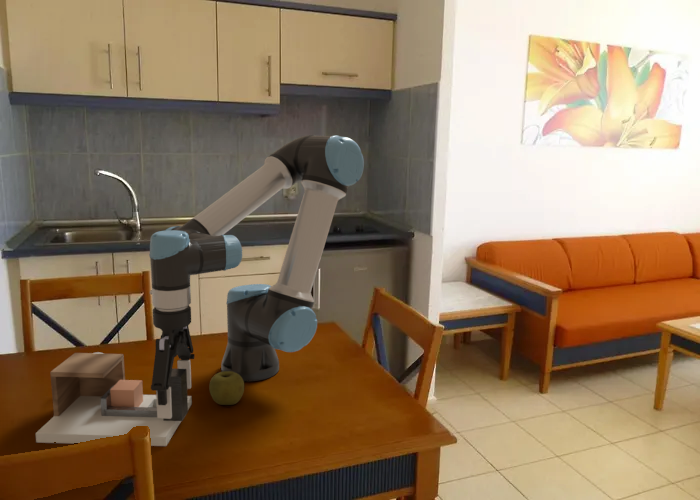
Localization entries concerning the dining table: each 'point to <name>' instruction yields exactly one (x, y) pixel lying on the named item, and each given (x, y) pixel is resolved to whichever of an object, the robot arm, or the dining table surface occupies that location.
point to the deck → (103, 423)
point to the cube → (127, 393)
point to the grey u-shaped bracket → (178, 407)
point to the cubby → (84, 377)
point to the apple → (226, 388)
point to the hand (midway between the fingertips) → (175, 402)
